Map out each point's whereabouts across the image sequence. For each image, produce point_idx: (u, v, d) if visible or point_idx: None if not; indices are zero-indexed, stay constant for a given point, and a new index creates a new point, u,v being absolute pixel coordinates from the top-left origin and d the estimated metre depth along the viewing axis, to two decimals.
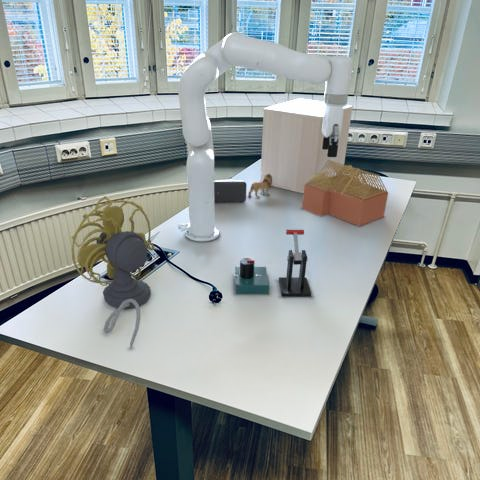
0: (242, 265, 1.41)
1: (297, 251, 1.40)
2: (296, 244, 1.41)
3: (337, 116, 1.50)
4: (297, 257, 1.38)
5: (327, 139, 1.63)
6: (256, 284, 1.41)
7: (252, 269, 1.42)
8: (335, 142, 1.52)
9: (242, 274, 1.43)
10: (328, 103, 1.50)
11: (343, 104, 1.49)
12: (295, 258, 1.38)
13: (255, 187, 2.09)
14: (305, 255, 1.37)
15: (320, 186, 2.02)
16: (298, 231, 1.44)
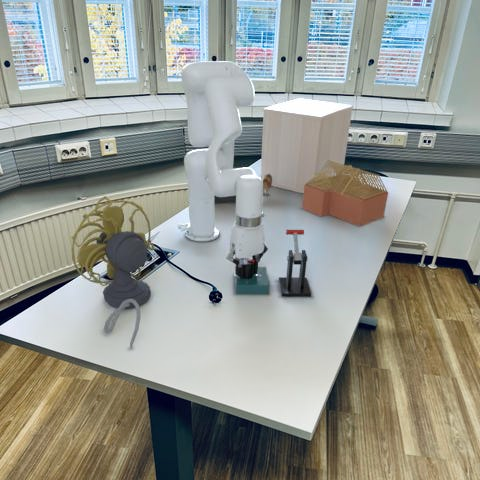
0: (242, 265, 1.41)
1: (297, 251, 1.40)
2: (296, 244, 1.41)
3: (234, 236, 1.35)
4: (297, 257, 1.38)
5: None
6: (256, 284, 1.41)
7: (252, 269, 1.42)
8: (234, 263, 1.40)
9: None
10: None
11: (242, 227, 1.32)
12: (295, 258, 1.38)
13: None
14: (305, 255, 1.37)
15: (320, 186, 2.02)
16: (298, 231, 1.44)
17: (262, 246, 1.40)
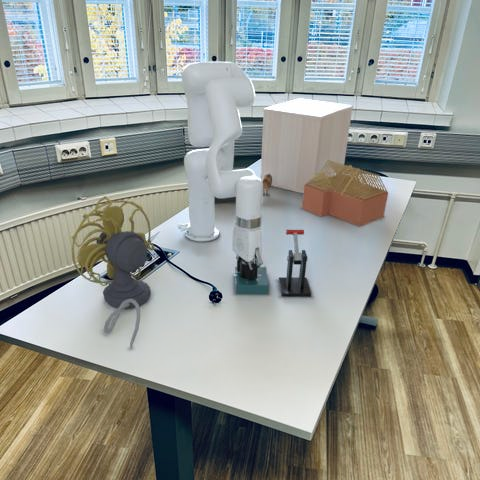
0: None
1: (297, 251, 1.40)
2: (296, 244, 1.41)
3: (257, 240, 1.34)
4: (297, 257, 1.38)
5: None
6: (256, 284, 1.41)
7: None
8: (257, 267, 1.38)
9: None
10: (244, 228, 1.32)
11: (260, 226, 1.34)
12: (295, 258, 1.38)
13: None
14: (305, 255, 1.37)
15: (320, 186, 2.02)
16: (298, 231, 1.44)
17: None
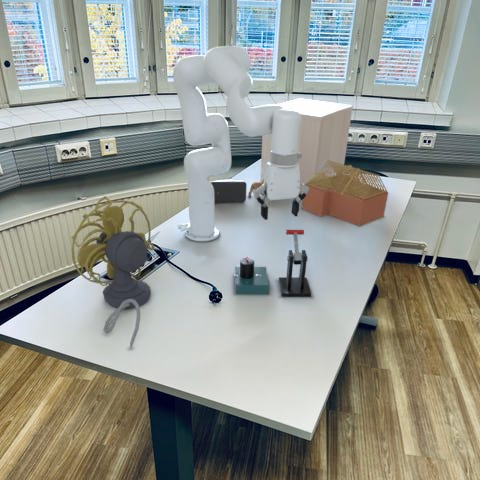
0: (252, 265, 1.41)
1: (297, 251, 1.40)
2: (296, 244, 1.41)
3: (267, 175, 1.30)
4: (297, 257, 1.38)
5: (293, 203, 1.38)
6: (256, 284, 1.41)
7: None
8: None
9: (252, 274, 1.43)
10: None
11: (275, 164, 1.27)
12: (295, 258, 1.38)
13: (255, 187, 2.09)
14: (305, 255, 1.37)
15: (320, 186, 2.02)
16: (298, 231, 1.44)
17: (297, 190, 1.33)
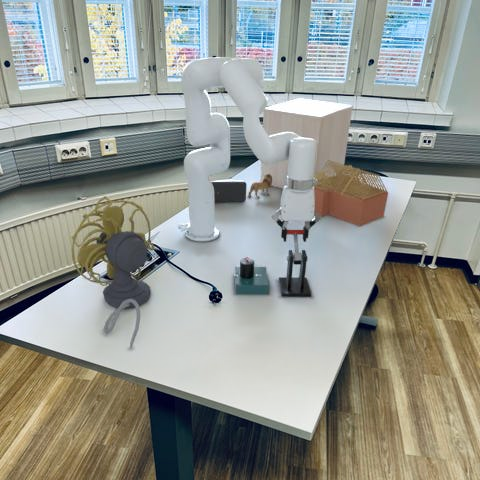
0: (252, 265, 1.41)
1: (297, 251, 1.40)
2: (296, 244, 1.41)
3: (282, 197, 1.37)
4: (297, 257, 1.38)
5: (303, 229, 1.44)
6: (256, 284, 1.41)
7: None
8: None
9: (252, 274, 1.43)
10: None
11: (289, 188, 1.34)
12: (295, 258, 1.38)
13: (255, 187, 2.09)
14: (305, 255, 1.37)
15: (320, 186, 2.02)
16: (298, 231, 1.44)
17: (310, 214, 1.39)
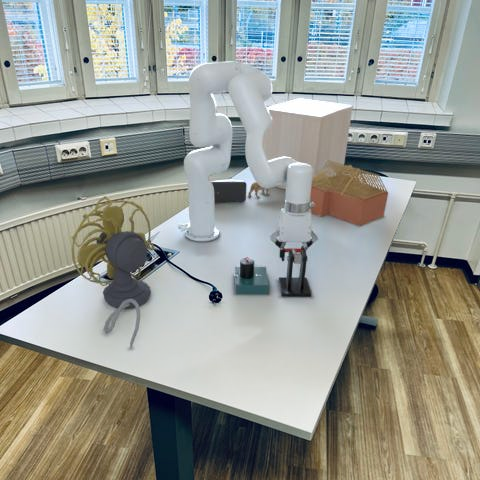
0: (252, 265, 1.41)
1: None
2: (295, 252, 1.44)
3: (280, 219, 1.42)
4: (297, 255, 1.39)
5: None
6: (256, 284, 1.41)
7: None
8: None
9: (252, 274, 1.43)
10: None
11: (287, 211, 1.39)
12: (295, 255, 1.38)
13: (255, 187, 2.09)
14: (305, 255, 1.37)
15: (320, 186, 2.02)
16: (296, 248, 1.48)
17: (308, 235, 1.43)
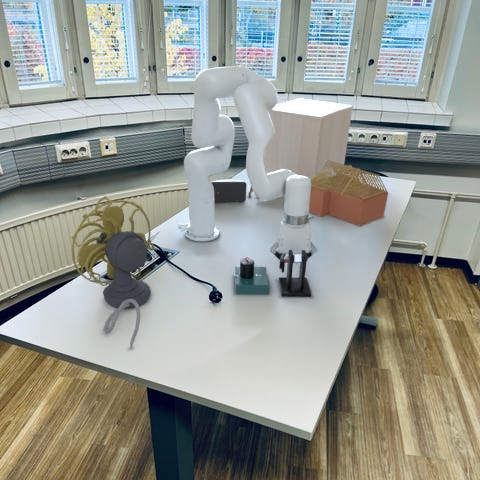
0: (252, 265, 1.41)
1: None
2: None
3: (279, 231, 1.43)
4: (297, 254, 1.39)
5: None
6: (256, 284, 1.41)
7: None
8: None
9: (252, 274, 1.43)
10: None
11: (285, 223, 1.40)
12: (295, 254, 1.38)
13: None
14: (305, 255, 1.37)
15: (320, 186, 2.02)
16: None
17: (307, 246, 1.44)
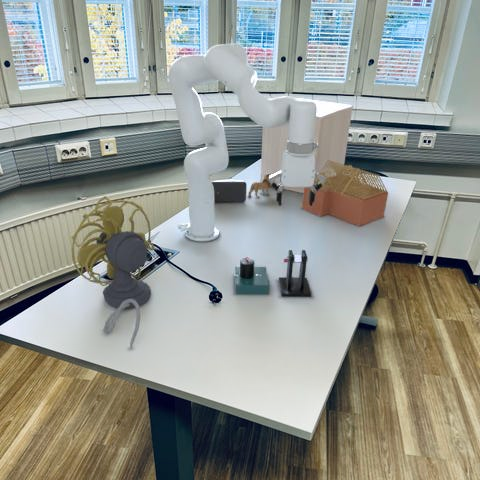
0: (252, 265, 1.41)
1: None
2: None
3: (282, 162, 1.37)
4: (297, 254, 1.39)
5: (310, 193, 1.43)
6: (256, 284, 1.41)
7: None
8: (273, 187, 1.41)
9: (252, 274, 1.43)
10: None
11: (289, 152, 1.33)
12: (295, 254, 1.38)
13: (255, 187, 2.09)
14: (305, 255, 1.37)
15: None
16: None
17: (311, 179, 1.38)
